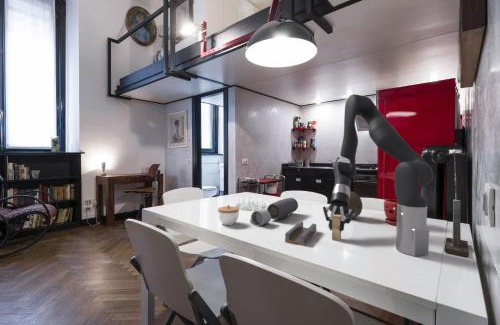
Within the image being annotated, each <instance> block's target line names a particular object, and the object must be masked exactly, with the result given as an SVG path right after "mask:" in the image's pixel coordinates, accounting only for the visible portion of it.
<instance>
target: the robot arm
mask: <svg viewBox="0 0 500 325" xmlns="http://www.w3.org/2000/svg"><path fill="white" fill-rule="evenodd" d="M344 104H345V105H344V118H343V119H344V121H343V136H342V143H341V148H340V154H339V155H340V157H342V158H345V159H347V160H348V161H349V162H344V161H337V162H335V163H334V164H333V174H334V187H333V190H332V192H331V193H332V194H331V200H330V204H329V206H327V207H326V206H323V207H322V211H323V213H324V217H325V220H326V221H327V222H328V229H329V231H332V216H333V215H334V214H335V215H341V222H340V232H341V233H342V232H343V231H344V230H345V224H350V223H351V221H352V220H353V217H354V215H355V210H350V209H349V198H350V191H351V184H352V181H351V179H352V178H354V177H355V176H356V174H357V164H356V155H357V154H356V153H357V149H358V146H359V137H358V133H357V128H356V118H357V117H356V116H359V117H361V118H362V119H363V120H364V121H365V122H366V124H367V125H368V134H369V137H370V139H371V140H372V141H373V143H374V144H375V145H376V147H378V149H379V150H381V151H383V152H384V153H385V154H387V155H389V156H390V157H392V158H393V159H395V160H396V161H398V165H397V166H396V167H395V169H394V195H395V197H396V200H397V226H396V230H395V231H396V234H395V236H396V237H395V238H396V240H395V241H396V242H395V250H397V252H400V253H403V254H405V255H410V256H412V257H422V256H429V251H430V250H429V248H430V247H429V245H430V244H429V243H430V242H429V240H430V228H428V227H427V226H428V225H427V222H428V221H427V220H428V199H427V198H426V197H424V196H422V195H421V194H420V191H419V187H425V186H428V185H429V184H431V183H432V182H433V180H434V178H435V174H434V171H433V168H432V166H430V164H429V163H428V162H427V161H426V160H425V159H424V158H423V157H421V156H420V155H419V154H418V153H417V152H416V151H415V150H414V149H413V148H412V147H411V146H410V145H409V143H407V141H406V140H404V138H403V137H402V136H401V134H399V132H398V131H397V130H396V128H395V127H393V125H392V124H391V123H390V122H389V121H388V120H387V119H386V117H385V116H384V115H383V114H382V113H381V112H380V110H379V109H378V107H377V106H376V105H375V103H374V101H373V100H372V98H370V97H368V96H365V95H360V94H351V95H350V96H348V97H347V98H346V101H345V103H344ZM329 212H330V216H329V215H328V213H329ZM348 212H349V215H348V217H346V218H345V216H344V215H345V214H347V213H348ZM354 218H355V217H354Z"/></svg>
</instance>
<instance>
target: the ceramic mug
mask: <svg viewBox="0 0 500 325" xmlns="http://www.w3.org/2000/svg"><path fill="white" fill-rule="evenodd" d="M271 220H272V218H271V214H270V212H269V211H268V210H267V209H258V210H257V209H256V210H254V211H253V212H252V213H251V215H250V218H249V222H250V223H252V224H253V225H254V226H255V227H260V226H263V225H266V224H268V223H270V222H271Z"/></svg>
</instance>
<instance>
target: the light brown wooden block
mask: <svg viewBox="0 0 500 325" xmlns="http://www.w3.org/2000/svg"><path fill="white" fill-rule="evenodd" d="M340 222H341V215H335V214H334V215H333V216H332V230H331V240H332V241H337V242H340V241H341V239H342V232H340Z"/></svg>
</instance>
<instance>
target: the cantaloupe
mask: <svg viewBox="0 0 500 325" xmlns="http://www.w3.org/2000/svg"><path fill="white" fill-rule="evenodd" d="M349 209H350V210H355V215H354V217H353V218H357V217H359V216H360V215H361V214H362V210H363V201H362V198H361V197H360V196H359V195H358V194H357V193H356V192H354V191H351V190H350V198H349ZM348 215H349V212H348V213H347V214H345V215H344V218H345V217H346V218H347V217H348ZM353 218H352V219H353Z"/></svg>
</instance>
